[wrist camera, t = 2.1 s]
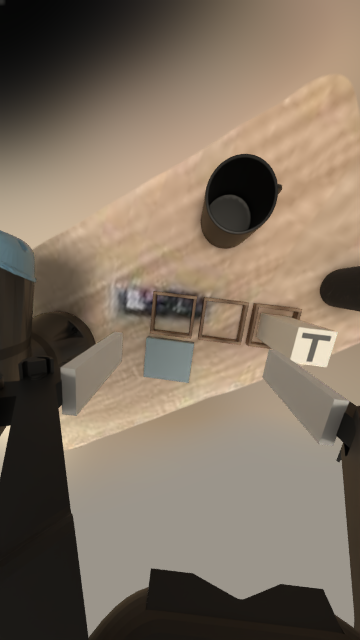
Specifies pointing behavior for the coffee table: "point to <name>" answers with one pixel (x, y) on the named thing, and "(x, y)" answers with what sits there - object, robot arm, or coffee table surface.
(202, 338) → the wooden window frame
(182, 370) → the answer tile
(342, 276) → the travel mug
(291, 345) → the letter block
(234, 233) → the mug
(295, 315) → the wooden frame right
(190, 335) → the wooden picture frame
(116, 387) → the coffee table surface
